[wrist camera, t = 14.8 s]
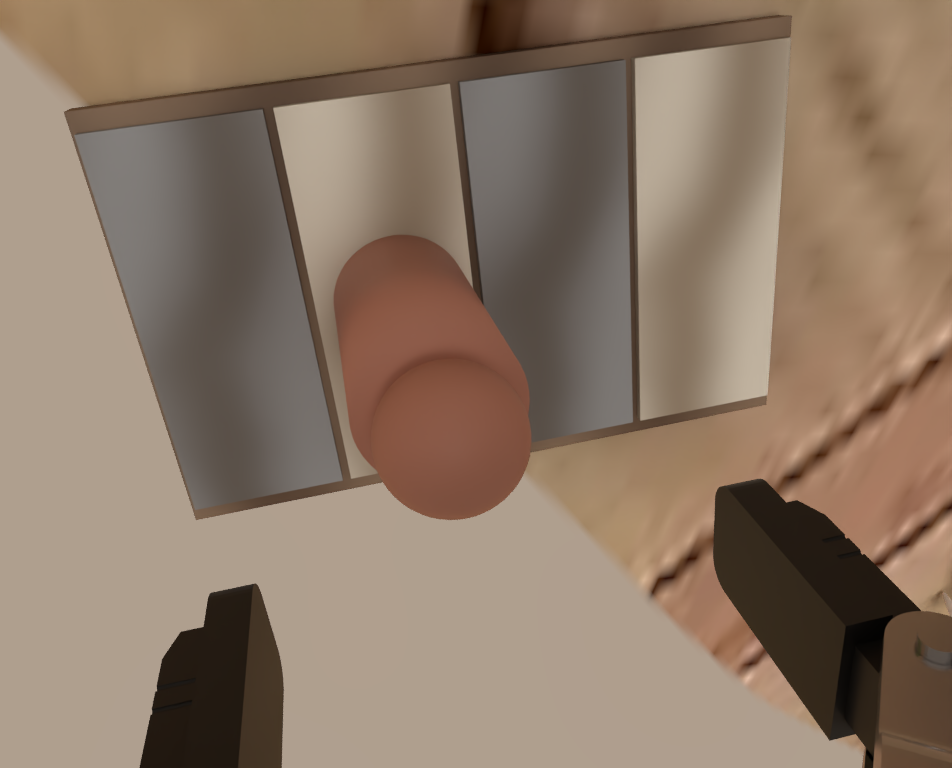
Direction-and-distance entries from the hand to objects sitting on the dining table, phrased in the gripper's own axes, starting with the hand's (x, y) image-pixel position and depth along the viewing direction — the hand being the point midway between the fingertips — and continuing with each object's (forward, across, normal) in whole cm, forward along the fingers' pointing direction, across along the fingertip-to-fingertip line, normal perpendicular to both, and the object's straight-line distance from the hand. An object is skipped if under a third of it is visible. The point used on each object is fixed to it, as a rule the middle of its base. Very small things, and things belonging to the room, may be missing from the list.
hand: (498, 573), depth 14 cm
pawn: (+14, 0, 0) cm, 14 cm away
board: (+15, -2, 0) cm, 15 cm away
